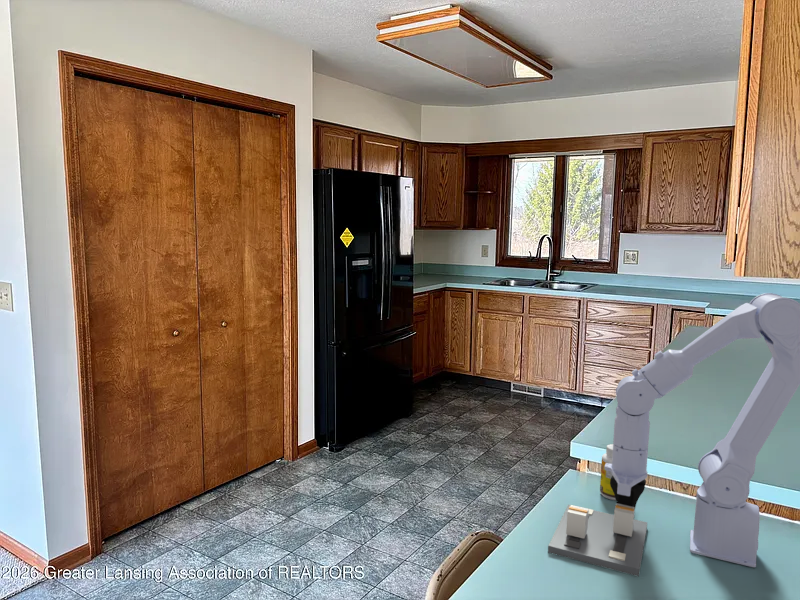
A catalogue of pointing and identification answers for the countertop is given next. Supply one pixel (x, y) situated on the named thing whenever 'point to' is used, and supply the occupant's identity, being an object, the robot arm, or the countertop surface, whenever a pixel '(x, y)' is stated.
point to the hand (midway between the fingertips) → (625, 518)
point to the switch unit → (602, 543)
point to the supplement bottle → (606, 474)
